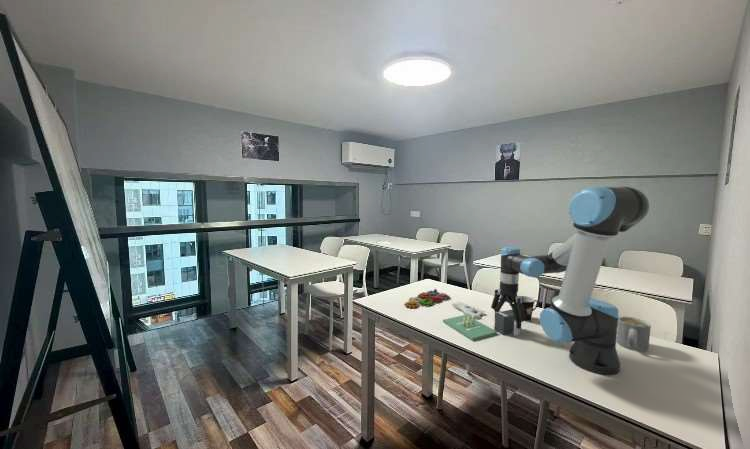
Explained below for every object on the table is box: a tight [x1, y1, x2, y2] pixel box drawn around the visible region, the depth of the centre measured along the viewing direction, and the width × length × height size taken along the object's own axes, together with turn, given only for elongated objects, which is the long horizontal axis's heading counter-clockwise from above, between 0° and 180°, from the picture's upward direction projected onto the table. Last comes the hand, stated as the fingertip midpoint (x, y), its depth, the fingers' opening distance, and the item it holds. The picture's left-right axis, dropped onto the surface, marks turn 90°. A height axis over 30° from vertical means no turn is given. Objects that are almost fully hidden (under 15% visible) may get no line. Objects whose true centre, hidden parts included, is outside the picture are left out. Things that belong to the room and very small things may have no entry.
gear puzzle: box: [403, 288, 452, 309], centre depth 173 cm, size 31×16×4 cm, turn 129°
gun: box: [451, 300, 485, 320], centre depth 157 cm, size 18×3×10 cm
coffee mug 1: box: [516, 295, 540, 322], centre depth 148 cm, size 12×9×10 cm
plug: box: [493, 309, 519, 336], centre depth 135 cm, size 5×10×8 cm, turn 114°
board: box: [442, 314, 498, 342], centre depth 138 cm, size 20×14×5 cm
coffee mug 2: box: [616, 316, 652, 353], centre depth 121 cm, size 13×10×10 cm
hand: (506, 329), depth 136 cm, fingers open, 10 cm apart
